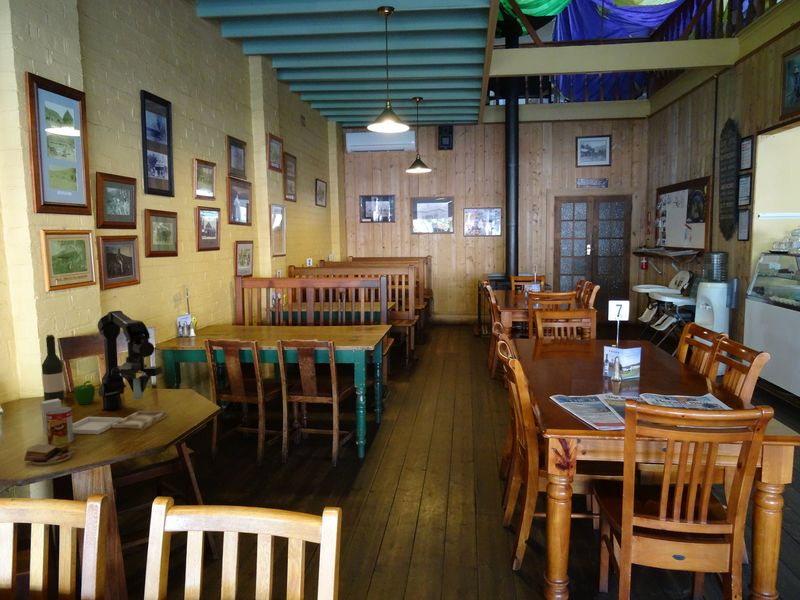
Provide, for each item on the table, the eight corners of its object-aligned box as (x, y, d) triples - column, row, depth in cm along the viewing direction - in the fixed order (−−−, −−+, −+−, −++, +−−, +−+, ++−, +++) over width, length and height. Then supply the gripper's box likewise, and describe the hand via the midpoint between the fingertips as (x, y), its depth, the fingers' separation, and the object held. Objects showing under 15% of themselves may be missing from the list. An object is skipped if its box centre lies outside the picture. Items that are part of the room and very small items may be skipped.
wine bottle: (58, 401, 259) (53, 336, 256) (40, 401, 259) (35, 336, 256) (69, 396, 267) (64, 333, 264) (51, 396, 267) (46, 333, 264)
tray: (141, 429, 218) (140, 425, 218) (112, 428, 219) (111, 424, 219) (166, 415, 236) (166, 411, 235) (139, 414, 237) (139, 410, 237)
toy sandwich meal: (57, 467, 183) (56, 453, 182) (17, 467, 183) (16, 452, 183) (81, 452, 195) (80, 439, 195) (43, 452, 196) (42, 439, 195)
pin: (132, 399, 225) (130, 379, 224) (137, 396, 228) (136, 377, 227) (140, 399, 224) (138, 379, 224) (145, 397, 228) (143, 377, 227)
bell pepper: (72, 406, 251) (70, 384, 250) (77, 401, 258) (76, 379, 257) (92, 405, 253) (91, 383, 251) (98, 400, 260) (96, 378, 259)
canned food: (50, 440, 207) (47, 408, 206) (75, 437, 210) (72, 406, 209) (46, 447, 200) (44, 414, 198) (72, 444, 203) (69, 411, 201)
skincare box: (60, 428, 221) (58, 398, 220) (63, 430, 218) (61, 400, 217) (42, 432, 217) (40, 401, 215) (45, 434, 214) (43, 403, 212)
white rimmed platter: (61, 434, 214) (61, 428, 214) (88, 421, 229) (88, 416, 229) (98, 435, 212) (98, 430, 212) (122, 422, 227) (122, 417, 227)
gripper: (101, 357, 218) (103, 396, 219) (146, 358, 215) (148, 398, 217) (119, 351, 229) (121, 389, 230) (162, 352, 226) (164, 390, 228)
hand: (138, 392), depth 226 cm, fingers closed on pin, 3 cm apart
